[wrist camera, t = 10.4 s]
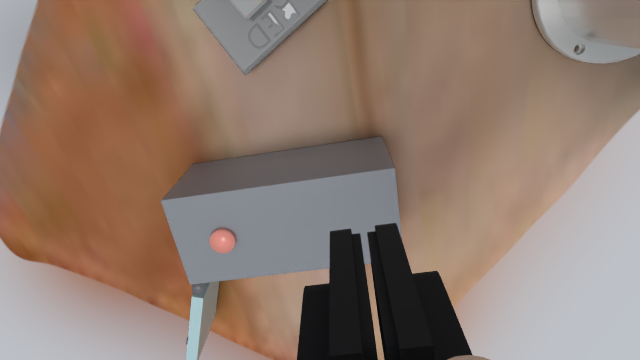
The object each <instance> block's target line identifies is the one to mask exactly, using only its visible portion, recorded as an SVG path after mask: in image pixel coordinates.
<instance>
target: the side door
mask: <svg viewBox="0 0 640 360" xmlns="http://www.w3.org/2000/svg"><path fill="white" fill-rule="evenodd" d="M218 290H219V281H217V282H209V283H207V285H206V287H205V289H204V291H203V293H202V294H199V295H198V294H195V293H193V295H192V300H191V311H190V322H189V334H188V338H187V341H186V344H187V356H186V360H199V357H200V354H201V352H202V349H203V346H204V344H205V341H206V338H207V336H208V333H209V331H210V328H211V325H212V323H213V320H214V317H215V315H216V306H217V298H218Z"/></svg>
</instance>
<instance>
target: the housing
mask: <svg viewBox="0 0 640 360" xmlns="http://www.w3.org/2000/svg"><path fill="white" fill-rule="evenodd" d="M161 203H162V206H163V208H164V211H165V214H166V217H167V220H168V223H169V226H170V229H171V231H172V234H173V237H174V240H175V243H176V246H177V249H178V252H179V254H180V257H181V260H182V263H183V266H184V269H185V272H186V274H187V277H188V280H189V283H190V285H192V284H194V285H193V287H192V291H193V293H195V294H198V295H199V294H202V293H203V291H204V289H205V287H206V285H207V283H209V282H217V281H225V280H234V279H242V278H251V277H259V276H267V275H276V274H284V273H292V272H301V271H309V270H318V269H326V268H330V231H335V230H343V229H351V231H352V234H357V233H360V235H361V243H362V250H363V257H364V264H368V263H371V259H370V251H369V244H368V236H367V232H372V231H375V225H382V224H390V223H397V226H398V230H399V233H400V236H401V226H400V216H399V205H398V195H397V184H396V174H395V167H394V164H393V162H392V159H391V157H390V154H389V152H388V149H387V147H386V145H385V142H384V140H383V137H382V136H381V137H374V138H367V139H360V140H353V141H346V142H339V143H333V144H326V145H319V146H312V147H305V148H298V149H291V150H285V151H278V152H271V153H264V154H257V155H250V156H244V157H237V158H230V159H223V160H216V161H209V162H202V163H196V164H193V165H192V166H191V167H190V168H189V169H188V170H187V172H186V173H185V174H184V175H183V176H182V177H181V178H180V179H179V181H178V182H177V183H176V184H175V185H174V186H173V187H172V188H171V190H170V191H169V192H168V193H167V194H166V195H165V196H164V197H163V199H162V200H161ZM401 239H402V237H401Z"/></svg>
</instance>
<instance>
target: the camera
mask: <svg viewBox="0 0 640 360" xmlns="http://www.w3.org/2000/svg"><path fill="white" fill-rule="evenodd" d="M326 1H327V0H201V1H200V2H199V3H198V4H197V5H196V6H195V7H194V8H193V10H194V11H195V13H196V14H197V15H198V16H199V18H200V19H201V20H202V21H203V23H204V24H205V25H206V27H207V28H208V29H209V30H210V32H211V33H212V34H213V35H214V37H215V38H216V39H217V40H218V42H219V43H220V44H221V46H222V47H223V48H224V49H225V51H226V52H227V53H228V54H229V56H230V57H231V58H232V60H233V61H234V62H235V63H236V65H237V66H238V67H239V68H240V70H241V71H242V72H243V73H244V75H247V74H248V73H249V72H250V71H251V70H252V69H253V68H254V67H255V66H256V65H257V64H259V63H260V62H261V61H262V60H263V59H264V58H265V57H266V56H267V55H268V54H269V53H270V52H272V51H273V50H274V49H275V48H276V47H277V46H278V45H279V44H280V43H281V42H282V41H284V40H285V39H286V38H287V37H288V36H289V35H290V34H291V33H292V32H293V31H294V30H295V29H297V28H298V27H299V26H300V25H301V24H302V23H303V22H304V21H305V20H306V19H307V18H308V17H310V16H311V15H312V14H313V13H314V12H315V11H316V10H317V9H318V8H319V7H320V6H321V5H323V4H324V3H325V2H326Z"/></svg>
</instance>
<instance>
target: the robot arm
mask: <svg viewBox="0 0 640 360" xmlns="http://www.w3.org/2000/svg"><path fill="white" fill-rule="evenodd" d="M532 9H533V15H534V18H535V21H536V24H537V27H538V29H539V31H540V32H541V34H542V36H543V38H544V39H545V40H546V41H547V42H548V44H549V45H550V46H551V47H552V48H553V49H555V50H556V51H558V52H559V53H561V54H562V55H564V56H566V57H568V58H571V59H574V60H577V61H581V62H586V63H596V64H607V63H613V62H620V61H623V60H626V59H629V58H632V57H635V56H637V55H639V54H640V0H532ZM575 46H576V49H575V50H574V48H575ZM367 236H368V244H369V251H370V259H371V266H372V274H373V281H374V289H375V296H376V304H377V311H378V319H379V326H380V333H381V339H382V346H383V352H384V359H385V360H489V359H486V358H484V357H478V356H473V355H472V353H471V350H470V348H469V346H468V343H467V340H466V338H465V336H464V333H463V331H462V328H461V326H460V323H459V321H458V319H457V316H456V314H455V311H454V309H453V306H452V304H451V301H450V299H449V296H448V294H447V292H446V289H445V287H444V284H443V282H442V279H441V277H440V275H439V273H438V272H437V271H432V272H423V273H415V274H412V272H411V269H410V266H409V262H408V259H407V256H406V253H405V249H404V246H403V243H402V239H401V236H400V233H399V230H398V226H397V223H390V224H382V225H375V231H372V232H367ZM297 360H378V358H377V351H376V343H375V336H374V328H373V321H372V314H371V307H370V299H369V292H368V285H367V278H366V271H365V264H364V257H363V250H362V243H361V235H360V233H357V234H352V231H351V229H343V230H335V231H330V282H329V284H320V285H311V286H305V288H304V292H303V303H302V313H301V324H300V334H299V344H298V355H297Z"/></svg>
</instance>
